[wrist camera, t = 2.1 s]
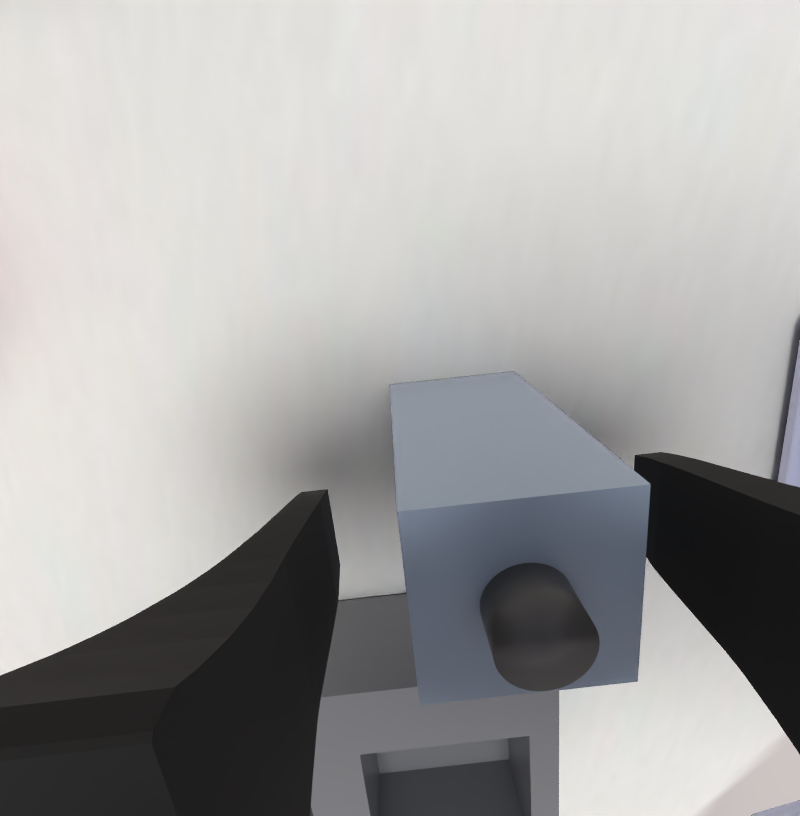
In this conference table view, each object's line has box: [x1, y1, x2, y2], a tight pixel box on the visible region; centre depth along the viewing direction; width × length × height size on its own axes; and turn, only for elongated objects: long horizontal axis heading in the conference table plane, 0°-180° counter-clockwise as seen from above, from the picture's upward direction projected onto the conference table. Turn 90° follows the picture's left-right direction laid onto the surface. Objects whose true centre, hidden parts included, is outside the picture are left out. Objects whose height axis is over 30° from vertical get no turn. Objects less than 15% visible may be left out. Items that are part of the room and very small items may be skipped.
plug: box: [390, 371, 651, 705], centre depth 11 cm, size 4×4×9 cm
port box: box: [310, 594, 559, 816], centre depth 17 cm, size 14×10×4 cm
